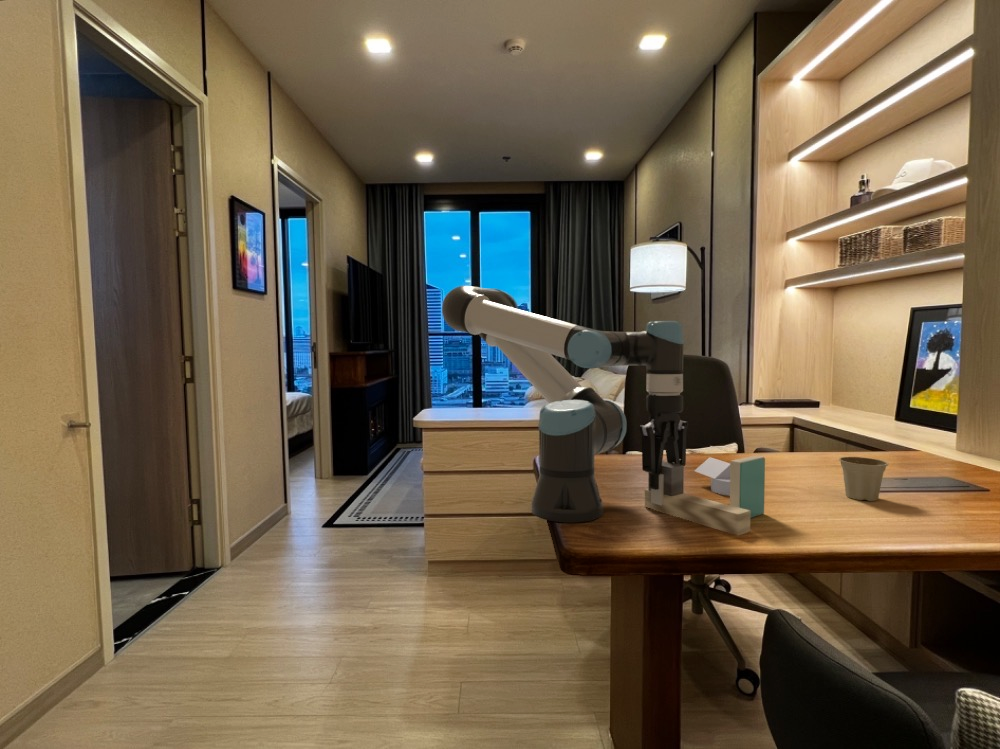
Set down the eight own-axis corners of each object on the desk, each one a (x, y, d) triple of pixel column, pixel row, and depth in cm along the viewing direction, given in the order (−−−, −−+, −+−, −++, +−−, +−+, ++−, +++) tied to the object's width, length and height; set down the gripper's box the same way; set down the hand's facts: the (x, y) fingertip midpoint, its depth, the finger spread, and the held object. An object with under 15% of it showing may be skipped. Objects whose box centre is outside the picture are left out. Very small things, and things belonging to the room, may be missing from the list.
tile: (740, 522, 107) (741, 462, 107) (729, 519, 109) (730, 460, 109) (764, 513, 113) (765, 457, 112) (754, 511, 114) (754, 455, 114)
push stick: (750, 531, 102) (751, 479, 102) (738, 535, 100) (738, 482, 99) (656, 504, 120) (656, 459, 120) (644, 507, 118) (644, 462, 117)
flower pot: (890, 497, 124) (891, 460, 124) (883, 506, 117) (884, 467, 117) (842, 490, 130) (843, 454, 130) (834, 498, 124) (834, 461, 123)
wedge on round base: (693, 483, 138) (726, 497, 125) (694, 458, 137) (726, 469, 125) (724, 481, 140) (759, 494, 127) (725, 456, 139) (760, 466, 127)
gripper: (652, 397, 107) (652, 513, 108) (704, 392, 117) (703, 499, 118) (623, 394, 113) (623, 504, 114) (675, 390, 123) (675, 491, 124)
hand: (664, 501), depth 116 cm, fingers closed on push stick, 4 cm apart
